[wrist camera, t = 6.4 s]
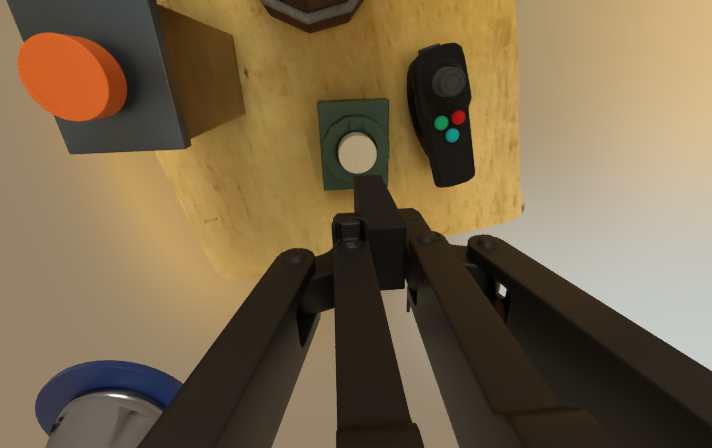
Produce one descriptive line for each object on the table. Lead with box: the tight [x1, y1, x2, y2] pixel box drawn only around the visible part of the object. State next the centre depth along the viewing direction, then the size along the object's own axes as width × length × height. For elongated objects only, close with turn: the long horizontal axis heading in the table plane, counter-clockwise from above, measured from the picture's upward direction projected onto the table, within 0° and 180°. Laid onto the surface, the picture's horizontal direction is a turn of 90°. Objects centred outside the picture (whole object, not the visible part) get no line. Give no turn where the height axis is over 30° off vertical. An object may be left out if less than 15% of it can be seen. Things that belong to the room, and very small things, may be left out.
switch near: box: [7, 0, 245, 154], centre depth 24 cm, size 8×6×16 cm
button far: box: [338, 132, 377, 174], centre depth 31 cm, size 4×4×2 cm
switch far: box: [317, 98, 389, 191], centre depth 33 cm, size 9×7×4 cm
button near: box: [18, 33, 127, 122], centre depth 15 cm, size 4×4×2 cm
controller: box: [407, 43, 475, 188], centre depth 30 cm, size 4×12×10 cm, turn 17°
